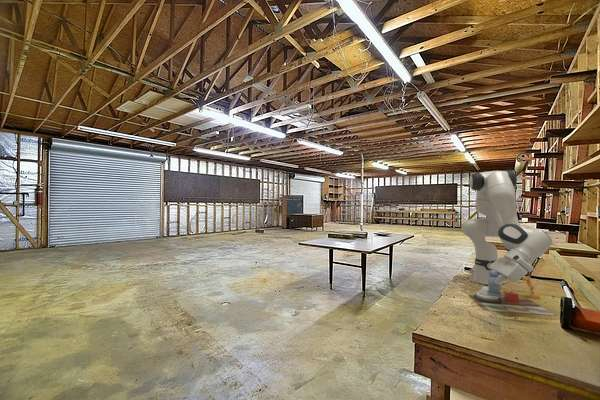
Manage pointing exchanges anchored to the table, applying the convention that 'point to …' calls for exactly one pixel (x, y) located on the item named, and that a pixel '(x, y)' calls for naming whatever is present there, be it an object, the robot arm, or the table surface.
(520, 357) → the table surface
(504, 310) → the game board
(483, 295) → the dome
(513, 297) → the red die
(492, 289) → the pawn
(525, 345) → the table surface
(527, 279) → the figurine
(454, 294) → the table surface
